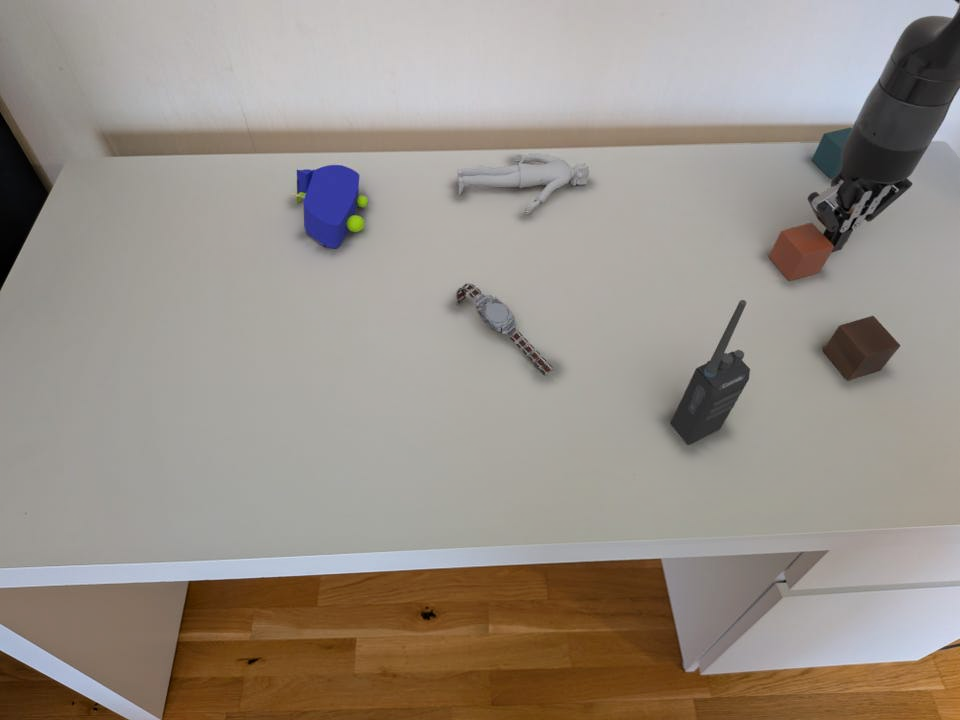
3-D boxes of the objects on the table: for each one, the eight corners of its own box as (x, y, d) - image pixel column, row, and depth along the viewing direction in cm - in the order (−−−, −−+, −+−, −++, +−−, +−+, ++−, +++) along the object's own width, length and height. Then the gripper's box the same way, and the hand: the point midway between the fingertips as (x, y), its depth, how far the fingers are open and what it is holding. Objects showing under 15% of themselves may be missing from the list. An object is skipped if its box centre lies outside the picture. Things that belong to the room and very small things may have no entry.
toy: (357, 191, 95) (288, 194, 92) (359, 159, 91) (286, 161, 88) (375, 253, 89) (301, 259, 86) (378, 222, 85) (301, 227, 82)
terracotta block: (798, 249, 87) (812, 222, 83) (819, 272, 85) (834, 246, 81) (768, 257, 86) (780, 230, 83) (788, 281, 84) (803, 255, 80)
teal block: (837, 154, 99) (850, 127, 95) (856, 172, 97) (871, 145, 93) (811, 160, 98) (823, 133, 95) (830, 179, 96) (844, 152, 92)
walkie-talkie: (687, 448, 69) (751, 322, 53) (667, 423, 71) (724, 294, 55) (724, 430, 71) (797, 302, 55) (704, 406, 73) (769, 275, 57)
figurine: (461, 218, 90) (595, 211, 91) (461, 195, 87) (599, 188, 88) (455, 165, 97) (579, 160, 99) (454, 143, 94) (582, 137, 96)
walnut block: (854, 340, 78) (873, 315, 74) (880, 370, 76) (901, 345, 72) (822, 350, 77) (839, 325, 74) (847, 381, 75) (866, 356, 71)
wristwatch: (466, 291, 82) (474, 269, 78) (548, 378, 80) (561, 361, 75) (444, 307, 80) (451, 286, 76) (527, 396, 78) (539, 379, 74)
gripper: (865, 161, 68) (802, 281, 81) (973, 132, 70) (894, 254, 84) (819, 120, 72) (766, 240, 86) (922, 94, 74) (855, 215, 88)
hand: (830, 247), depth 85 cm, fingers closed
